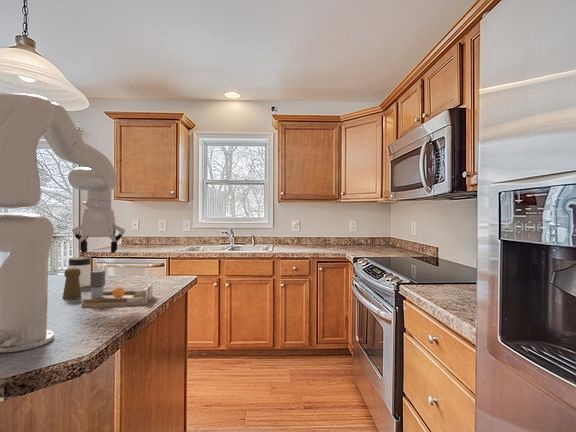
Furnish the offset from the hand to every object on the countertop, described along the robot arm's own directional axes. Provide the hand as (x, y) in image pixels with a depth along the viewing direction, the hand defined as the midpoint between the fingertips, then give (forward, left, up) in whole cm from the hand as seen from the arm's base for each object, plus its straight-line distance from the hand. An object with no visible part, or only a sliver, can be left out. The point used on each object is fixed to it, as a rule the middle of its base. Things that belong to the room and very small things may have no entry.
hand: (99, 252), depth 121 cm
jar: (+29, +18, -18) cm, 39 cm away
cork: (+7, +12, -18) cm, 23 cm away
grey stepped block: (-1, 0, -16) cm, 16 cm away
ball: (-1, -7, -15) cm, 16 cm away
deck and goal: (-1, -8, -18) cm, 20 cm away
